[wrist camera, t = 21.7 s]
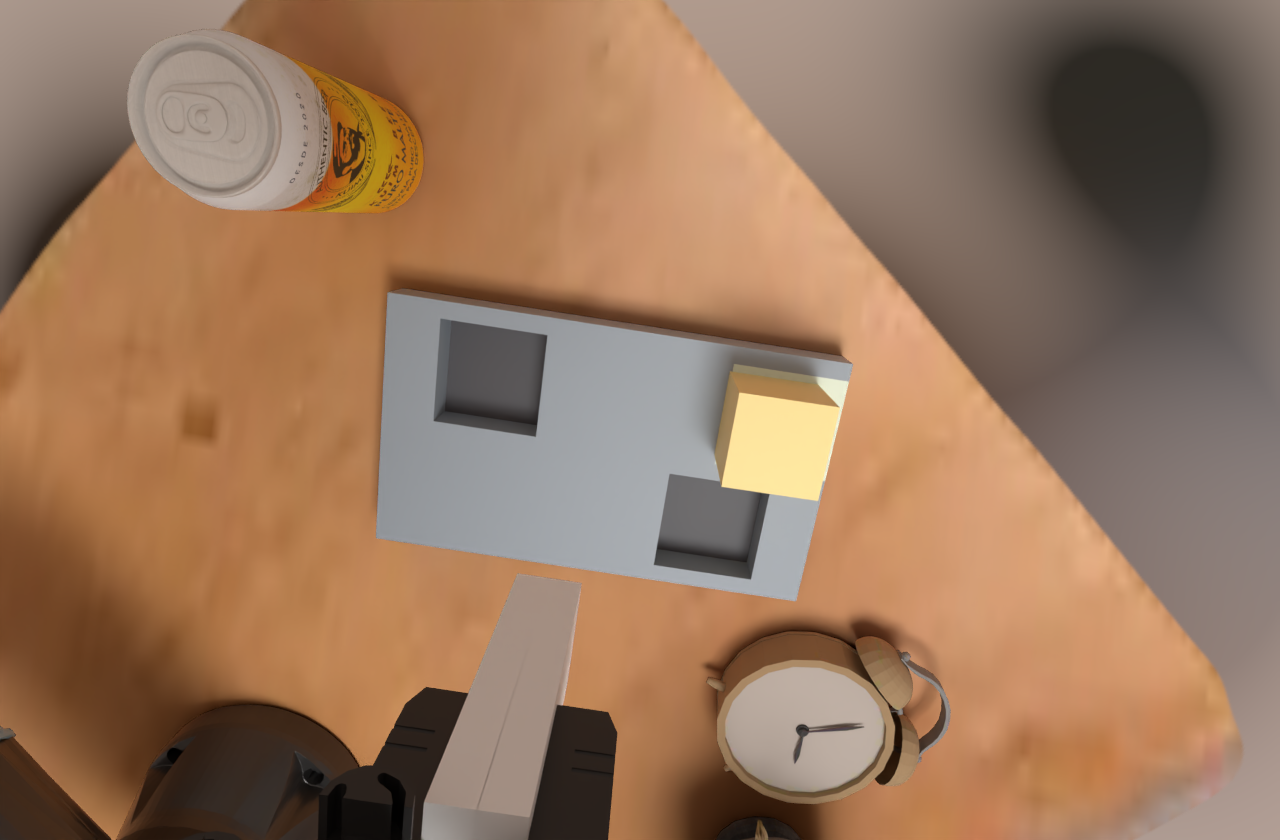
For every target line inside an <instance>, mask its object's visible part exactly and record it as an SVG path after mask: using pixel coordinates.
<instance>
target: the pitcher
mask: <svg viewBox="0 0 1280 840" xmlns="http://www.w3.org/2000/svg"><path fill="white" fill-rule="evenodd" d="M716 840H802V839H801V838H800V837H799V836H798V835H797V834H796V832H795V831H794V830H793V829H792V828H791V827H790V826H788V825H786V824H785V823H783V822H781V821H779V820H777V819H775V818H765V817H750V818H746V819H742V820H738V821H734V822H733V823H732V824H730V825H729V826H727V827H726V828H725V829H723V830H722V831H721V832H720V833H719V835H718V837H717V839H716Z"/></svg>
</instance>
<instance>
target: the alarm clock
mask: <svg viewBox="0 0 1280 840" xmlns="http://www.w3.org/2000/svg"><path fill="white" fill-rule="evenodd" d="M855 645H856V649H857V650H855V649H854V648H852V647H851V646H849V645H848V644H846V643H845V642H843V641H842V640H839V639H836V638H833V637H829V636H826V635H823V634H820V633H816V632H793V631H787V632H783V633H779V634H775V635H771V636H767V637H763V638H761V639H759V640H757V641H756V642H754V643H752V644H751V645H749V646H747V647H746V648H744V649H743V650H741V651H740V652H739V653H738V654H737V656H736V657H735V658H734V659H733V660H732V662H731V663H730V664H729V665H728V666H727V668H726V669H725V671H724V673H723V676H722V679H721V680H718V679H715V678H711V677H708V679H707V682H706V683H708V684H709V685H710V686H712V687H713V688H715V689H717V713H718V715H717V742H718V745H719V747H720V750H721V752H722V755H723V757H724V760H725V762H726V765H725V766H724V770H725V771H726V772H727V771H731V770H732V771H733V772H734V773H735V774H736V775H737V776H738V778H739V779H740V780H741V781H742V782H744V783H745V784H747V785H748V786H750V787H752V788H753V789H755V790H756V791H758V792H760V793H761V794H763V795H765V796H769V797H772V798H775V799H778V800H781V801H785V802H788V803H803V804H819V803H824V802H829V801H835V800H840V799H843V798H845V797H847V796H849V795H851V794H853V793H855V792H857V791H859V790H861V789H863V788H865V787H866V786H867V785H868V784H869V783H870V782H871V781H872V780H874V779H875V780H876V781H877V782H878V783H879V784H880V785H885V786H898V785H901V784H902V783H904V782H906V781H907V780H908V779H909V778H910V777H911V776H912V774H913V773H914V771H915V768H916V766H917V763H919V762H921V757H920V756H921V755H922V754H923V752H925V751H926V750H928V749H929V748H931V747H932V746H934V745H935V744H936V743H937V742H938V741H939V740H940V739H941V738H942V737H943V736H944V734H945V732H946V731H947V729H948V725H949V722H950V706H949V702H948V699H947V697H946V694H945V692H944V690H943V688H942V686H941V684H940V682H939V681H938V679H937V678H936V677H935V676H934V675H933V674H932V673H930V672H929V671H928V670H926V669H924V668H922V667H920V666H918V665H917V664H915V663H913V662H912V661H910V658H911V656H910V654H909V653H908V652H903V653H901V652H900V651H899V650H897V651H898V652H897V651H896V650H895V649H894V647H892V646H891V645H890V644H889V643H888V642H886V641H885V640H883V639H880V638H877V637H873V636H866V637H862V638H859V639H857V640H856V641H855ZM908 668H909V669H910V670H911V671H912V672H914V673H915V674H916V675H918V676H919V677H921V678H923V679H925V680H927V681H928V682H930V683H931V684H933V685H934V686H935V688H936V689H937V690H938V691H939V692H940V696H941V700H942V704H941V712H940V716H939V720H938V721H937V723H936V724H935V726H934V727H933V728H932V729H931V730H930V731H929V732H928V733H927V734H926V735H924V736H923V737H922V738H921V739H918V735H917V732H916V730H915V728H914V726H913V724H912V723H911V721H910V720H909V719H908V718H907V717H906V716H904V715H903V709H902V708H903V707H904V706H905V705H906V704H907V703H908V702H909V701H910V699H911V696H912V691H913V683H912V678H911V674H910V672H909V669H908ZM886 700H887V701H888V702H889V704H890V705H891V706H892V707H894V708H889V707H888V704H887V701H886Z"/></svg>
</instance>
